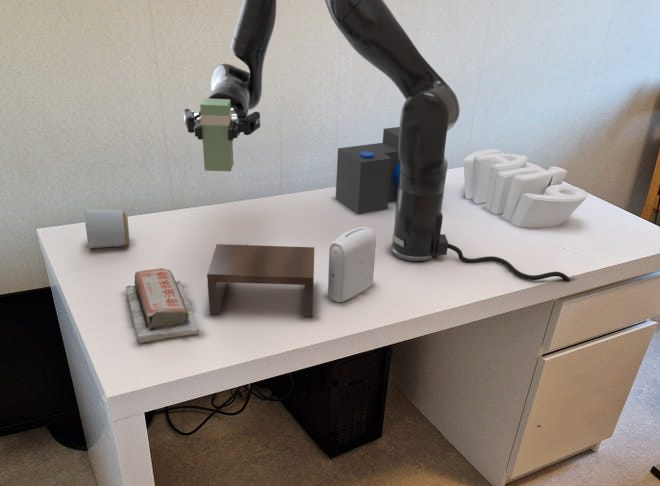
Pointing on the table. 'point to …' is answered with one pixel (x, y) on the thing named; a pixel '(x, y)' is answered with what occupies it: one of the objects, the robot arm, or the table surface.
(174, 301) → the packaged product
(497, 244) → the table surface
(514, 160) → the white letter sculpture
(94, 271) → the table surface
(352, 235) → the photo printer
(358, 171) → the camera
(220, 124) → the box
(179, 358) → the table surface
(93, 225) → the ceramic mug
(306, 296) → the shelf stand
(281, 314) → the table surface
